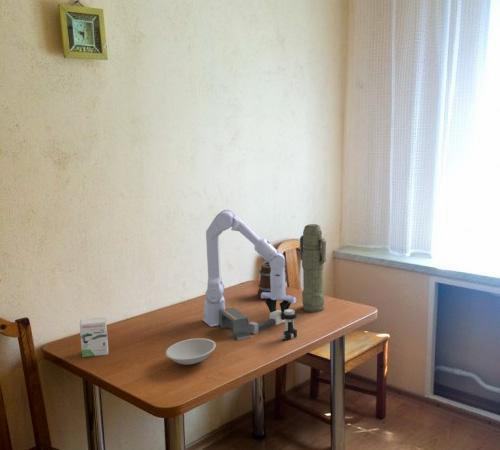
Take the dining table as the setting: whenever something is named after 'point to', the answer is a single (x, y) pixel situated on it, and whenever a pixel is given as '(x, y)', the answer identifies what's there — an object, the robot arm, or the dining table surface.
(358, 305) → the dining table surface
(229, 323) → the motor housing
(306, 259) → the thermos
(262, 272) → the mug
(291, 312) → the push button
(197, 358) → the dish
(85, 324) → the ink box
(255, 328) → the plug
